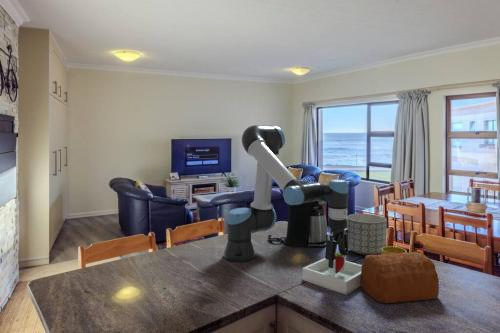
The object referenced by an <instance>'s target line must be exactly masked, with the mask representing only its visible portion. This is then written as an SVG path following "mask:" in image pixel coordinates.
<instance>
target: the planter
mask: <svg viewBox="0 0 500 333" xmlns="http://www.w3.org/2000/svg"><path fill="white" fill-rule="evenodd" d="M346 219H347V228H346V230H348V250H350V251H352V252H353V253H355V254H357V255H359V256H364V257H366V256H367V255H379V254H381V249H382V248H383V247H387V226H388V224H387V223H388V222H387V218H386V217H385V216H381V215H378V214H371V213H370V214H368V213H352V214H349V215H348V214H347V218H346Z"/></svg>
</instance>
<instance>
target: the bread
mask: <svg viewBox="0 0 500 333" xmlns="http://www.w3.org/2000/svg"><path fill="white" fill-rule="evenodd" d="M361 265H362V269H361V286H360V287H361V288H362V290H363V291H364V292H365V293H366V294H368V295H369V296H370V297H371V298H372V299H374V300H375V301H378V302H379V303H381V304H393V303H396V304H397V303H404V302H405V303H406V302H414V301H415V302H416V301H417V302H418V301H427V300H428V301H429V300H436V299H437V298H438V297H439V293H440V291H439V290H440V289H439V286H440V285H439V283H440V282H439V275H438V272H437V271H436V265H435V262H433V261H432V260H431V259H430V258H429V257H428V256H426V255H425V254H424V253H423V252H422V253H421V252H418V251H411V252H407V253H391V254H381V253H379V254H376V255H367V256H364V259H363V263H362V264H361Z"/></svg>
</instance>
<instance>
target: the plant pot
mask: <svg viewBox="0 0 500 333" xmlns="http://www.w3.org/2000/svg"><path fill="white" fill-rule="evenodd" d="M391 253H408V252H407V250H406V249H405V248H402V247H399V246H393V245H392V246H391V245H390V246H387V245H386V247H383V248H382V249H381V253H380V254H391Z"/></svg>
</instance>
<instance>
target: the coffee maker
mask: <svg viewBox="0 0 500 333" xmlns="http://www.w3.org/2000/svg"><path fill="white" fill-rule="evenodd" d="M298 181H299V182H300V183H301V184H302V185H304V184H307V183H308V182H309V181H308V180H307V181H305V180H304V181H303V180H302V181H301V180H298ZM327 203H328V202H325V201H313V202H307V203H302V204H299V205H289V204H287V207H288V210H287V211H288V212H287V213H288V216H287V217H288V218H287V226H286V236H281V237H272V234H267V235H268V237H267V239H268V240H269V241H270V242H275V243H278V242H279V243H281V242H282V243H283V245H286V246H291V247H300V248H310V247H311V248H325V247H326V235H328V223H327V218H326V213H325V210H324V208H323V206H326V204H327Z"/></svg>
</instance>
